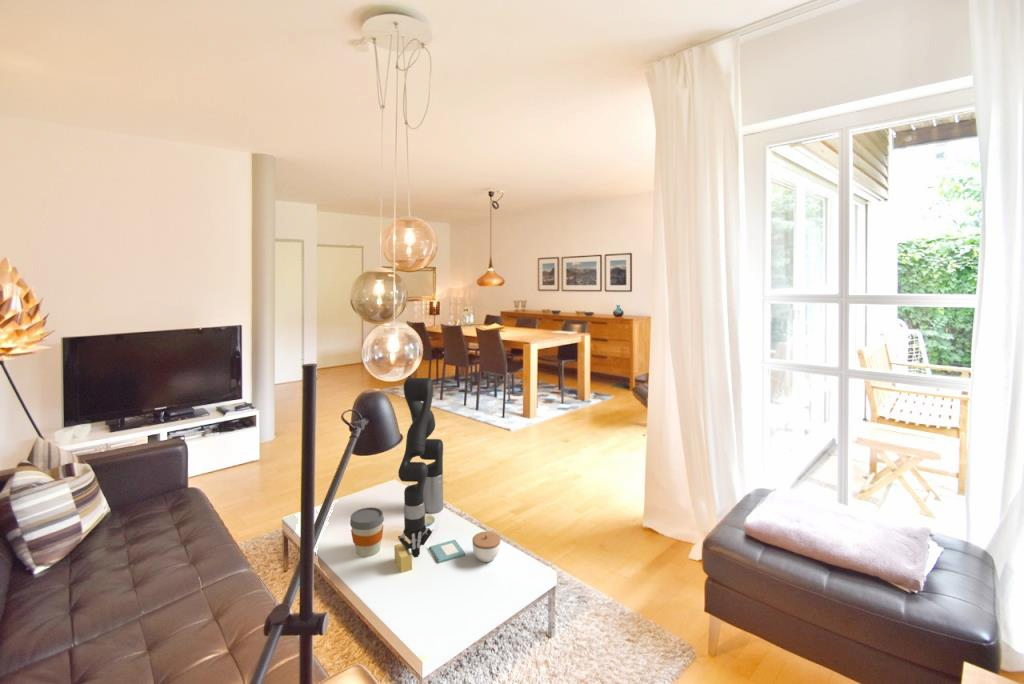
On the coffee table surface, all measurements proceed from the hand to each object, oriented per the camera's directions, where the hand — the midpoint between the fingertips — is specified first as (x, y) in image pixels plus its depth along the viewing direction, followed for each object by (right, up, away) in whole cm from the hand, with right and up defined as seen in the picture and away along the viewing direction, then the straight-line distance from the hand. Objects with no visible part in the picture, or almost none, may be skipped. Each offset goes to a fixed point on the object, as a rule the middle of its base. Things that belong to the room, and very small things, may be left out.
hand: (415, 556), depth 184 cm
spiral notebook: (+11, -1, +7) cm, 13 cm away
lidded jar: (+27, -2, +3) cm, 27 cm away
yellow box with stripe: (-4, -2, -2) cm, 5 cm away
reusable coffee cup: (-20, -1, +7) cm, 21 cm away
